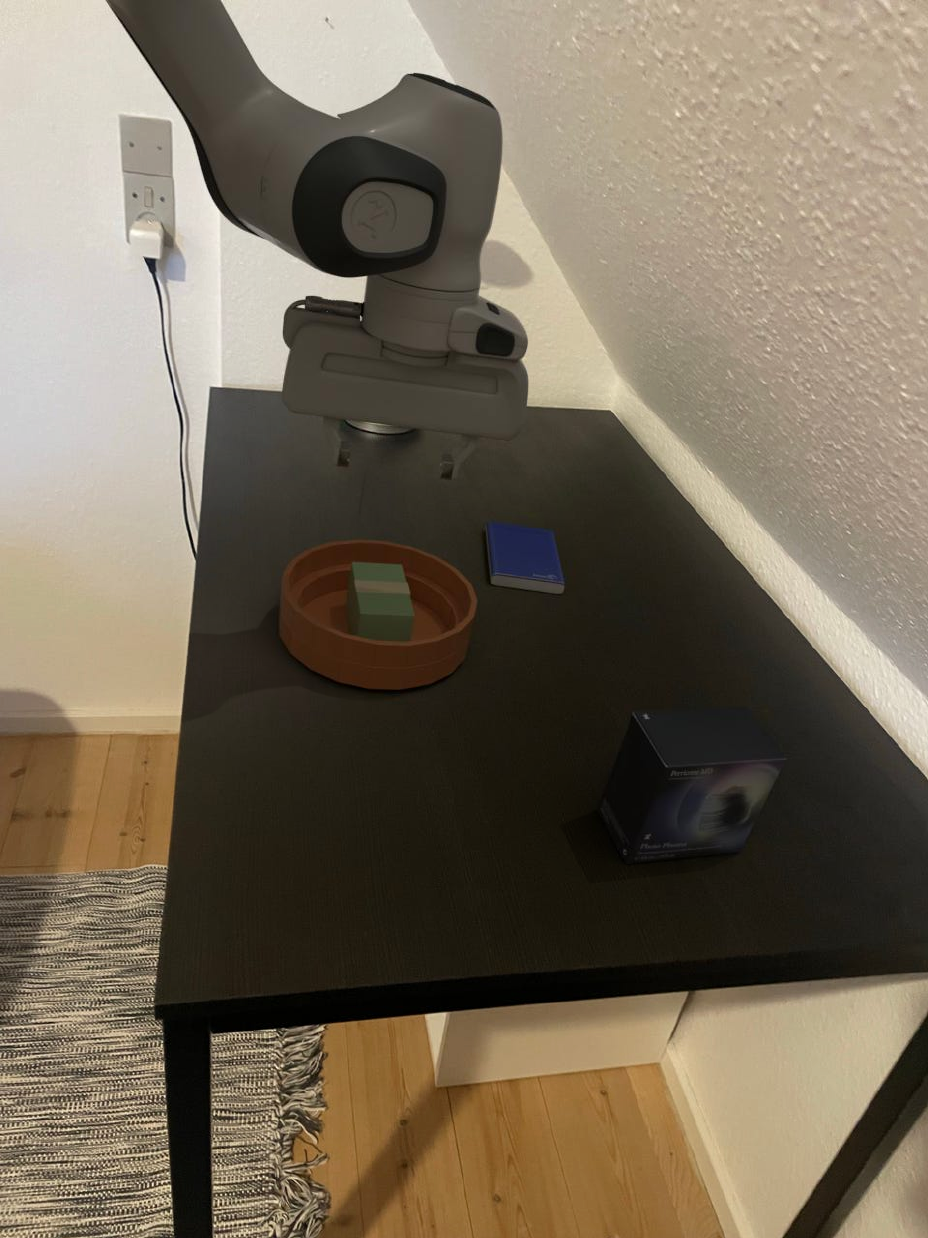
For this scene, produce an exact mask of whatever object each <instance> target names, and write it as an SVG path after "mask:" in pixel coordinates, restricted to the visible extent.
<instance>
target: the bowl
mask: <svg viewBox="0 0 928 1238" xmlns="http://www.w3.org/2000/svg"><path fill="white" fill-rule="evenodd" d="M351 562H365V563H383V564H401V565H402V567H403V571H404V575H405V579H406V583H408V587H409V590H410V598H411V602H412V606H413V610H414V614H415V618H414V624H413V629H412V635H411V641H409V642H402V641H377V640H372V639H368V638H363V637H358V636H354V635H351V633H350V627H349V620H348V613H347V607H346V601H347V593H348V585H349V578H350V570H351ZM477 607H478V598H477V596H476V592H475V590H474V586H473V585H472V584H471V582H470V581H469V580H468V579H467V578H466V577H465V576H464V575H463V574H462V572H461V571H460V570H459V569H457V568H456V567H454V566H453V565H451V564H449V563H448V562H446V561H445V560H443V559H441V558H440V557H439V556H437V555H434V554H431V553H429V552H426V551H424V550H421V549H419V548H416V547H414V546H413V547H412V546H409V545H404V544H399V543H396V542H391V541H387V540H386V541H385V540H374V539H373V540H371V539H357V538H355V539H348V540H336V541H330V542H326V543H324V544H323V543H322V544H320V545H317V546H314V547H310V548H308V549H306V550H305V551H303V552H302V553H300V554H298V555H297V556H295V557H294V558H293V559H291V560H290V562H289V563H288V565H287V567H286V568H285V570H284V572H283V573H282V575H281V585H280V597H279V610H278V632H279V633H278V634H279V637H280V639H281V641H282V642H283V644H284V645H285V647H286V649H287V651H288V652H289V654H290V655H292V656H293V657H294V658H295V659H296V660H298V661H299V662H300V663H301V664H303V665H304V666H305V667H306V668H308V669H309V670H311V671H313V672H315V673H317V674H319V675H321V676H324V677H326V678H328V679H330V680H333V681H335V682H338V683H340V684H346V685H350V686H355V687H360V688H363V689H368V690H395V691H397V690H398V691H399V690H406V689H412V688H417V687H422V686H427V685H431V684H433V683H435V682H438V681H439V680H442V679H444V678H445V677H447V676H449V675H451V674H453V672H455V670H457V668H458V667H459V666H460V665H461V664H462V663H463V662H464V661H465V659H466V656H467V653H468V652H467V651H468V647H469V643H470V639H471V634H472V629H473V625H474V620H475V615H476V611H477Z"/></svg>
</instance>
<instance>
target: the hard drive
mask: <svg viewBox="0 0 928 1238" xmlns="http://www.w3.org/2000/svg"><path fill="white" fill-rule="evenodd" d="M485 539H486V549H487V560H488V569H489V578H490V584H491V585H493V586H498V587H505V588H511V589H512V588H513V589H519V590H527V591H534V592H541V593H548V594H555V595H561V594H564V591H565V587H566V583H565V582H566V581H565V579H564V574H563V570H562V564H561V561H560V556H559V552H558V547H557V543H556V540H555V533H554V531H552V530H550V529H545V528H538V527H533V526H532V527H531V526H525V525H519V524H511V523H504V522H497V521H487V522H486V526H485Z"/></svg>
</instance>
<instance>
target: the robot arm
mask: <svg viewBox="0 0 928 1238" xmlns="http://www.w3.org/2000/svg"><path fill="white" fill-rule="evenodd" d="M105 2H106V3H107V5H108V6H109V8H110V9H111V11H112V13H113V14H114V16H115V17H116V18H117V20H118V22H119V23H120V24H121V26H122V28H123V29H124V30H125V32H126V34H127V35H128V37H129V38H130V40H131V41H132V42H133V44H134V46H135V47H136V49H137V50H138V52H139V53H140V54H141V57H143V59H144V60H145V62H146V63H147V65H148V66H149V68H150V69H151V71H152V72H153V74H154V75H155V77H156V78H157V80H158V81H159V83H160V84H161V86H162V88H163V89H164V91H165V92H166V93H167V95H168V96H169V98H170V99H171V101H172V102H173V104H174V105H175V107H176V108H177V110H178V112H179V113H180V116H181V117H182V119H183V120H184V122H185V125H186V126H187V128H188V131H189V133H190V135H191V138H192V141H193V144H194V149H195V151H196V152H195V153H196V155H197V159H198V163H199V166H200V170H201V174H202V178H203V181H204V184H205V186H206V190H207V192H208V194H209V196H210V198H211V200H212V201H213V204H214V205H215V207H216V208H217V210H218V211H219V212H220V213H221V214H222V216H223V217H224V218H225V219H226V220H227V221H228V222H230V223H231V224H232V225H234V226H235V227H237V228H239V229H240V230H241V231H244V232H246V233H248V234H251V235H253V236H256V237H257V238H260V239H263V240H266V241H268V243H271V244H272V245H274V246H276V247H278V248H279V249H281V250H282V251H284V252H286V253H288V254H289V255H290V256H292V257H294V258H296V259H298V260H299V261H301V262H303V263H305V264H306V265H308V266H310V267H311V268H314V269H315V270H317V271H320V272H322V273H324V274H327V275H330V276H335V277H338V278H345V279H353V278H354V279H355V278H362V277H366V280H365V287H364V288H365V289H364V295H363V301H362V302H359V301H351V300H345V299H328V298H323V296H318V295H306V296H305V298H304V299H298V300H295V301H294V302H292V303H291V304H289V305H288V306H287V308H286V310H285V312H284V313H283V314H284V315H283V323H282V339H283V341H284V343H285V345H286V347H287V348H288V349H289V350H288V354H287V359H286V365H285V369H284V375H283V380H282V389H281V402H282V403H283V404H284V407H286V409H287V410H288V411H289V413H293V414H299V415H307V416H314V417H321V418H322V430H323V432H324V435H325V436H326V438H327V440H328V443H329V445H330V446H331V459H330V460H331V461H330V463H331V464H330V466H333V467H340V468H341V467H342V468H349V466H350V457H351V451H352V450H351V442H350V441H346V440H342V439H341V436H340V435H339V433H338V431H339V430H340V427H341V420H343V421H351V422H352V421H354V422H359V423H368V424H376V425H384V426H390V427H391V426H392V427H398V428H406V429H414V430H421V431H429V432H438V433H444V434H453V435H457V436H458V440H459V443H458V444H457V445H456V446H455V448H454V449H453V450H452V452H451V453H441V454H440V459H439V461H440V464H439V465H438V476H439V477H438V478H439V479H440V480H447V481H457V480H458V476H459V470H460V465H462V464H463V463H464V461H466V459H467V458H469V456H470V455H471V454H472V453H473V452H474V451H475V450H476V449H477V445H478V440H479V438H484V439H490V440H491V439H492V440H499V441H506V442H510V441H513V440H514V439H515V438H516V437H517V436H519V434H521V432H522V431H523V429H524V424H525V420H526V414H527V408H528V407H527V406H528V399H529V374H528V370H527V367H526V366H525V364H524V362H523V358H524V357H525V355H526V353H527V350H528V347H529V346H528V345H529V338H528V334H527V331H526V328H525V327H524V325H523V323H522V322H521V321H520V319H519V318H518V317H517V315H515V314H514V312H512V311H510V310H508V309H507V308H505V307H503V306H500V305H498V304H497V303H495V302H493V301H491V300H489V299H488V298H485V297H483V296H481V295H480V288H481V284H482V272H481V271H482V270H481V269H482V268H481V256H482V252H483V247H484V244H485V242H486V240H487V238H488V236H489V234H490V232H491V229H492V225H493V221H494V217H495V210H496V203H497V200H498V194H499V193H498V192H499V187H500V181H501V180H500V179H501V171H502V163H503V146H504V145H503V143H504V142H503V141H504V139H503V134H504V133H503V123H502V119H501V115H500V112H499V110H498V109H497V108H496V107H495V105H494V104H493V103H492V101H490V100H489V99H488V98H486V97H485V96H484V95H481V94H479V93H478V92H475V91H473V90H471V89H469V88H466V87H464V86H461V85H458V84H454V83H452V82H449V81H447V80H445V79H443V78H439V77H437V76H433V75H430V74H426V73H422V72H421V73H420V72H413V73H406V74H404V75H403V76H402V78H401V79H400V81H398V83H397V84H396V86H395V87H393V88H392V89H391V90H389V91H388V92H386V93H385V94H383V95H382V96H380V97H378V98H377V99H376V100H375V99H374V100H373V101H372V102H369V103H367V104H365V105H363V106H361V107H358V108H356V109H352V110H350V111H345V112H342V113H337V114H336V116H333V115H330V114H328V113H326V112H322V110H318V109H315V108H313V107H311V106H308V105H307V104H304V102H302V101H299V100H298V99H296V98H295V97H293V96H292V95H290V94H289V93H287V92H285V91H284V90H282V89H281V88H280V87H278V86H277V85H276V84H274V83H273V82H272V81H271V80H270V79H269V78H268V77H267V76H266V75H265V74H264V73H263V71H262V70H261V68H260V67H259V66H258V63H256V61H255V59H254V57H253V55H252V53H251V52H250V50H249V47H248V46H247V45H246V43H245V41H244V39H243V37H242V35H241V34H240V32H239V30H238V28H237V27H236V25H235V22H234V21H233V19H232V18H231V16H230V14H229V12H228V10H227V9H226V7H225V5H224V3H223V2H222V0H105ZM300 306H304V307H300Z"/></svg>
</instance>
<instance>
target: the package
mask: <svg viewBox="0 0 928 1238" xmlns="http://www.w3.org/2000/svg"><path fill="white" fill-rule="evenodd" d="M346 607H347V613H348V620H349V627H350V633H351V635H354V636H358V637H363V638H368V639H372V640H377V641H402V642H409V641H411V635H412V629H413V624H414V618H415V614H414V610H413V606H412V602H411V598H410V590H409V587H408V583H406V579H405V575H404V571H403V567H402V565H401V564H383V563H365V562H351V570H350V578H349V585H348V593H347V601H346Z"/></svg>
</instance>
